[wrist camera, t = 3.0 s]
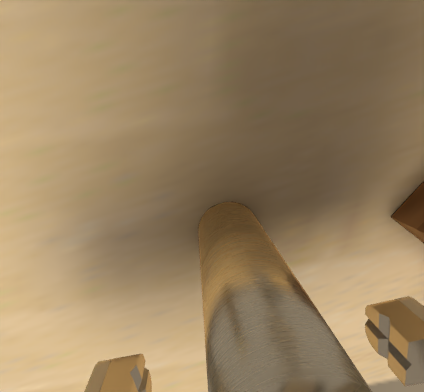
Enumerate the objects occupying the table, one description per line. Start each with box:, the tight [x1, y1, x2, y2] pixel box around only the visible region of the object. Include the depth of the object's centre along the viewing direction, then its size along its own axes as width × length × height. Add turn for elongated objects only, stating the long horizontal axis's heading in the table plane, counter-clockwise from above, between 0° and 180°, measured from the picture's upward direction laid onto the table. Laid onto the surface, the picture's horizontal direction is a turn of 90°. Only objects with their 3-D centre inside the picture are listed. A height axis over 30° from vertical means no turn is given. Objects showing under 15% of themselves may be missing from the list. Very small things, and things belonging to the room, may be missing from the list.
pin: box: [198, 202, 372, 392], centre depth 11 cm, size 4×4×11 cm
